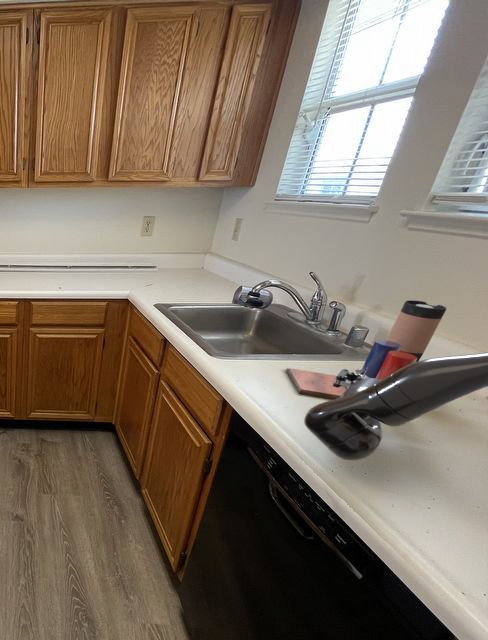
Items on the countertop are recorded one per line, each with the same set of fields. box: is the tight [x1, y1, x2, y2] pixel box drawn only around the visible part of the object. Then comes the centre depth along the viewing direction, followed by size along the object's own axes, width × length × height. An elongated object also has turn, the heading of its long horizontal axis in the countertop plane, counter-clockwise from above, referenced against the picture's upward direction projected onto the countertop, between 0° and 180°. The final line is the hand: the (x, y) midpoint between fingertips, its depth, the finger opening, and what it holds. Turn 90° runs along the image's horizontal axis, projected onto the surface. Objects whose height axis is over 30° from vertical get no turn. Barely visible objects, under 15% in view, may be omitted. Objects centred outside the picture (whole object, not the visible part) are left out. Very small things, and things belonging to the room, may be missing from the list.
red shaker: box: [376, 351, 417, 380], centre depth 96 cm, size 5×5×11 cm
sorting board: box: [285, 367, 349, 400], centre depth 103 cm, size 22×14×1 cm, turn 68°
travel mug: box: [385, 299, 447, 362], centre depth 106 cm, size 8×8×20 cm
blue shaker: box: [361, 339, 402, 378], centre depth 102 cm, size 5×5×11 cm
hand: (386, 380), depth 91 cm, fingers open, 8 cm apart
